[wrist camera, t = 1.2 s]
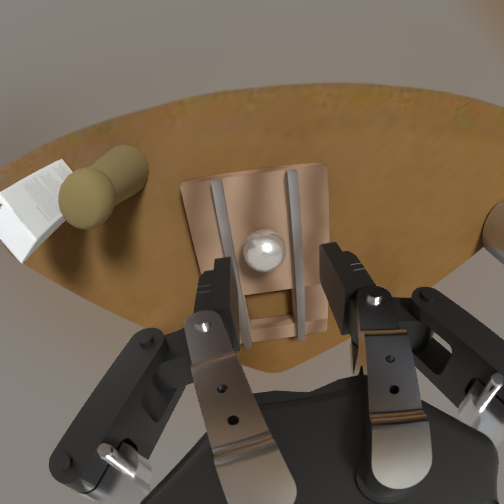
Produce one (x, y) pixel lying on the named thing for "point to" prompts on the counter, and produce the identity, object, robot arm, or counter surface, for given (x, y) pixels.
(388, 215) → the counter surface
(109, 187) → the olive knob stopper
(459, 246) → the counter surface
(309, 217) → the walnut channel
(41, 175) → the skincare box
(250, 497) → the robot arm
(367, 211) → the counter surface
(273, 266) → the steel ball
